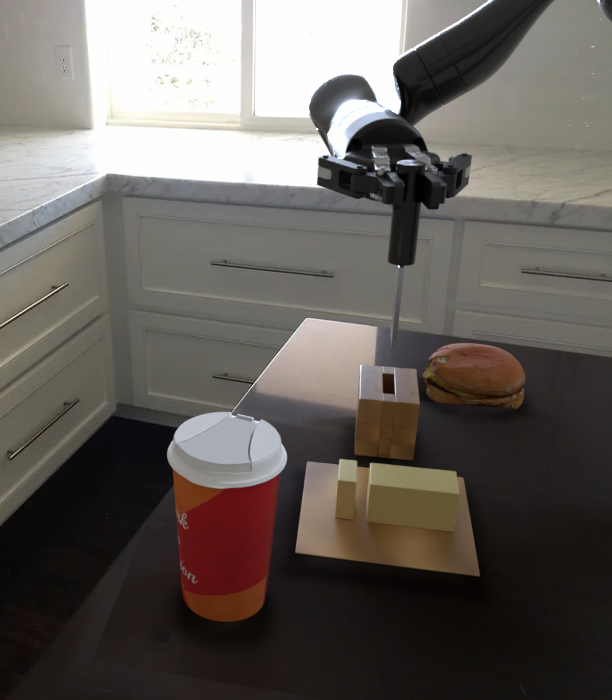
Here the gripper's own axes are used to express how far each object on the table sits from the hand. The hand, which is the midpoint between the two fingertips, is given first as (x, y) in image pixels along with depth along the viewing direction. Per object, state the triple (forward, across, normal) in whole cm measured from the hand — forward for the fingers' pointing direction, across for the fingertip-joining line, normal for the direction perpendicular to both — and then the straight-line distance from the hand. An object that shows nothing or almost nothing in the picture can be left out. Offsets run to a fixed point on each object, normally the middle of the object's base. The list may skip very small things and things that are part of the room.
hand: (417, 196), depth 66 cm
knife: (-3, 0, +13) cm, 14 cm away
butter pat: (+8, -4, +23) cm, 25 cm away
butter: (+9, 0, +23) cm, 25 cm away
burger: (-15, +11, +25) cm, 31 cm away
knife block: (-4, 0, +25) cm, 25 cm away
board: (+8, -2, +25) cm, 26 cm away
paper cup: (+18, -15, +25) cm, 34 cm away
